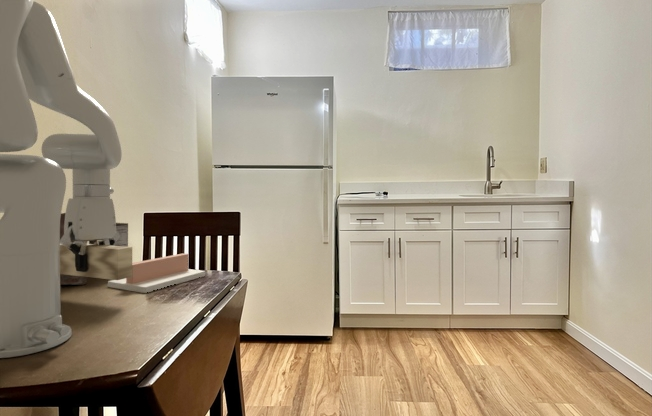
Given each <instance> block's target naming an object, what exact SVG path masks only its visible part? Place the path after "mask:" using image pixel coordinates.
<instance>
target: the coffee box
mask: <svg viewBox="0 0 652 416" xmlns="http://www.w3.org/2000/svg"><path fill="white" fill-rule="evenodd" d="M116 230H117V231H118V233H119V234H120V236H121V237H120V238H119V239H118V240H117V241H116V242H115V243H114V244H113V246H125V247H129V223H128V222H127V223H126V222H116ZM88 244H97V245H98V243H97V240H94V241H88Z"/></svg>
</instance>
